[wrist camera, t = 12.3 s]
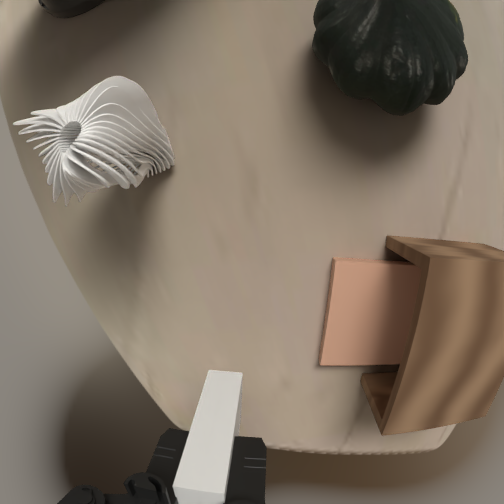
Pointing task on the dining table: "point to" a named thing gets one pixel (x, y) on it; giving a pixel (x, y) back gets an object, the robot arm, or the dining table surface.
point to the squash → (391, 50)
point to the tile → (368, 311)
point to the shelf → (445, 339)
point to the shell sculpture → (101, 139)
